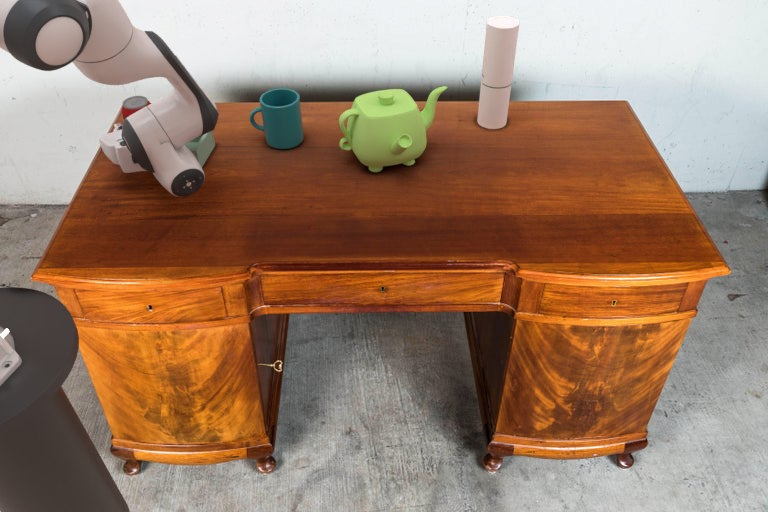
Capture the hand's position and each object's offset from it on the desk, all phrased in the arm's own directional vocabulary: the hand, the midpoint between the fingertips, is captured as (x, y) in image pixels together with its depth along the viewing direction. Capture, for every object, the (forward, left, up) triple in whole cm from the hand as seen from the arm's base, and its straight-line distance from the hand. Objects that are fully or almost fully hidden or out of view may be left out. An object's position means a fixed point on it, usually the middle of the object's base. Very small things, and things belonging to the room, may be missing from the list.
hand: (138, 120), depth 146 cm
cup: (+9, -29, -9) cm, 31 cm away
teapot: (+4, -58, -9) cm, 58 cm away
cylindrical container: (+24, -79, -9) cm, 83 cm away
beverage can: (+1, 0, -8) cm, 8 cm away
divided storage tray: (0, -5, -9) cm, 10 cm away
